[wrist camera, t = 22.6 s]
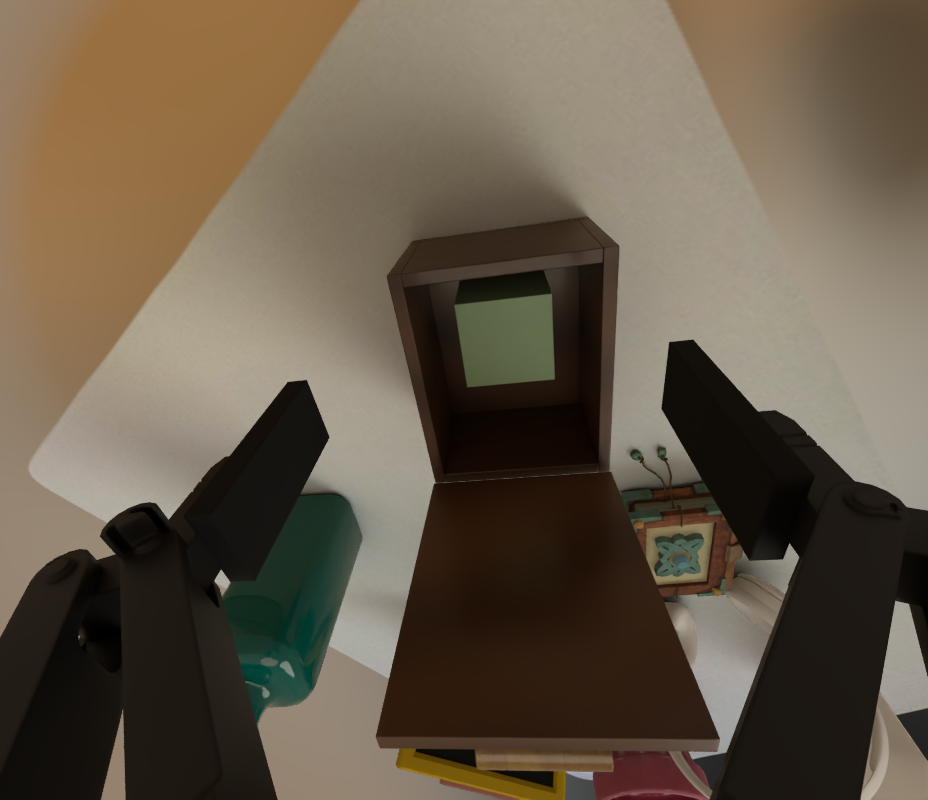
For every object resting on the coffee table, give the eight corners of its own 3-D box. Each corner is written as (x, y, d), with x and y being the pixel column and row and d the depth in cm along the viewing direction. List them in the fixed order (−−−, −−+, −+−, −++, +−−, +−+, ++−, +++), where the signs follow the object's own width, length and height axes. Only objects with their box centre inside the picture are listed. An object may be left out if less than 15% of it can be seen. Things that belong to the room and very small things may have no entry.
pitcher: (347, 490, 45) (245, 742, 27) (367, 544, 50) (291, 792, 31) (260, 495, 46) (104, 740, 28) (287, 547, 51) (168, 789, 32)
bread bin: (411, 241, 31) (386, 275, 24) (588, 216, 30) (619, 245, 22) (446, 416, 40) (435, 483, 32) (586, 404, 38) (609, 471, 31)
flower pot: (583, 721, 70) (599, 829, 59) (578, 677, 63) (595, 791, 52) (676, 719, 68) (710, 831, 57) (682, 673, 61) (722, 792, 50)
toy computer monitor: (565, 651, 59) (586, 803, 46) (536, 675, 63) (547, 822, 50) (432, 607, 56) (413, 758, 42) (410, 636, 60) (386, 782, 46)
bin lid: (375, 737, 17) (403, 813, 19) (720, 739, 15) (705, 822, 18) (433, 483, 32) (445, 543, 34) (611, 471, 30) (610, 535, 32)
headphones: (617, 603, 53) (675, 826, 36) (773, 545, 46) (935, 787, 29) (644, 631, 56) (710, 850, 39) (795, 580, 49) (955, 820, 32)
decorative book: (742, 436, 39) (772, 473, 35) (722, 562, 48) (744, 604, 44) (590, 455, 41) (601, 492, 37) (599, 572, 50) (609, 613, 46)
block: (460, 276, 32) (454, 304, 27) (542, 266, 31) (552, 293, 26) (470, 350, 35) (467, 387, 30) (545, 342, 34) (554, 379, 29)
